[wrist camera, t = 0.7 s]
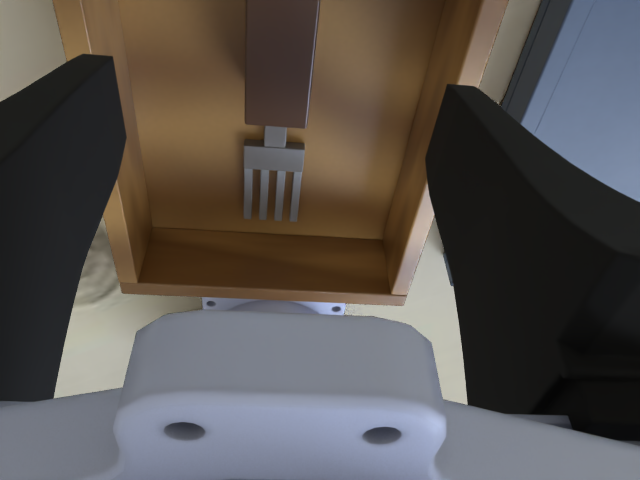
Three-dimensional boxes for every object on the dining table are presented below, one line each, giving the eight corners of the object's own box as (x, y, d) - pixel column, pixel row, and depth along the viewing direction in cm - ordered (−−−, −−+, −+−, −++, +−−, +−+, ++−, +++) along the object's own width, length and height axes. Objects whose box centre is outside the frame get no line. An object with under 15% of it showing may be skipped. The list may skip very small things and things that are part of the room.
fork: (246, -91, 17) (240, -63, 15) (328, -82, 17) (332, -53, 15) (243, 213, 26) (239, 254, 24) (297, 216, 26) (297, 257, 24)
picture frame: (648, 266, 31) (665, 296, 29) (442, 255, 29) (450, 286, 28) (931, -93, 18) (988, -72, 17) (593, -135, 17) (621, -117, 15)
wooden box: (392, 239, 28) (403, 306, 25) (140, 225, 27) (121, 294, 24) (502, -146, 17) (546, -106, 14) (67, -200, 16) (11, -169, 12)
